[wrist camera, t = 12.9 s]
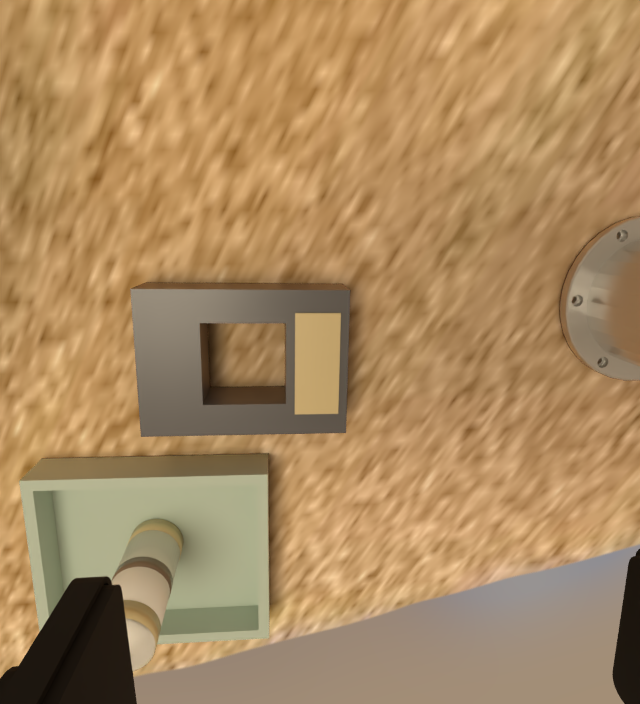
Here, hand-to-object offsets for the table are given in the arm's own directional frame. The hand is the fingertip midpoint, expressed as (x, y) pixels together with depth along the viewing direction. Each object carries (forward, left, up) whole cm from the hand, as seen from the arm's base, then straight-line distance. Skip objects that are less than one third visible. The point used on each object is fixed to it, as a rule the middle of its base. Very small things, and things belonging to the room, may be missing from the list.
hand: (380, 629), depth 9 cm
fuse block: (+4, +2, -29) cm, 30 cm away
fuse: (+11, +17, -28) cm, 35 cm away
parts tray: (+11, +17, -29) cm, 36 cm away
